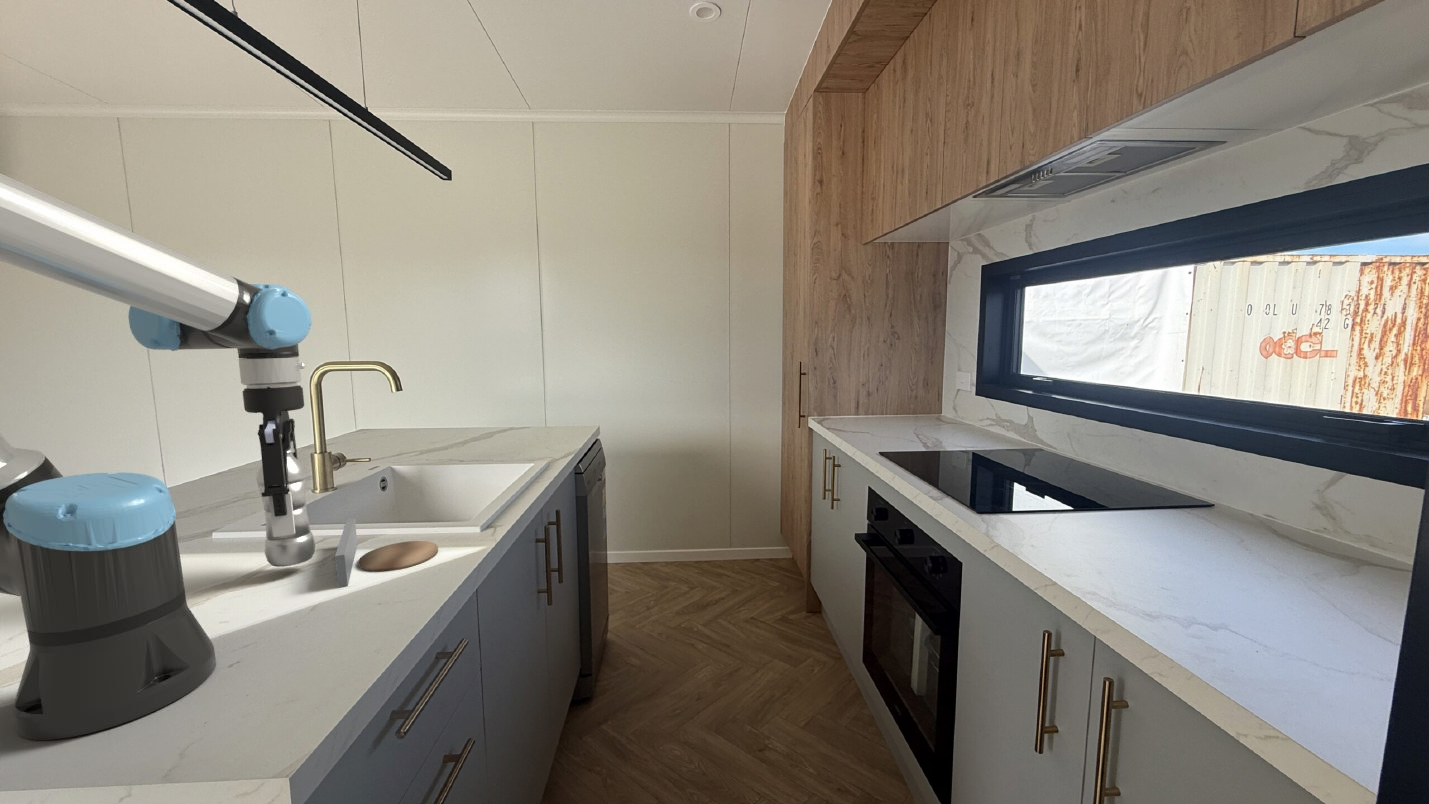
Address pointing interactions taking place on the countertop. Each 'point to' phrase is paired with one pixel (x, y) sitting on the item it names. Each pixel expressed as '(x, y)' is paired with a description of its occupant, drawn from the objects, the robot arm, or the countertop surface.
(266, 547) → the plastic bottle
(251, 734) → the countertop surface
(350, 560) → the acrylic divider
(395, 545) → the walnut coaster
